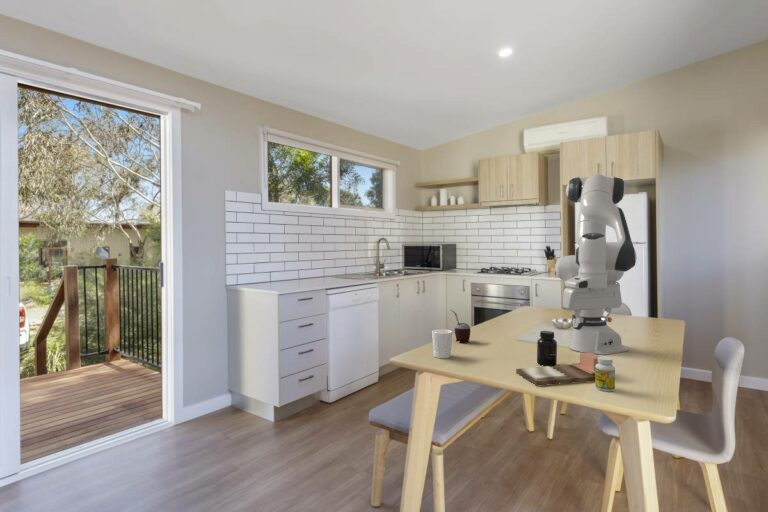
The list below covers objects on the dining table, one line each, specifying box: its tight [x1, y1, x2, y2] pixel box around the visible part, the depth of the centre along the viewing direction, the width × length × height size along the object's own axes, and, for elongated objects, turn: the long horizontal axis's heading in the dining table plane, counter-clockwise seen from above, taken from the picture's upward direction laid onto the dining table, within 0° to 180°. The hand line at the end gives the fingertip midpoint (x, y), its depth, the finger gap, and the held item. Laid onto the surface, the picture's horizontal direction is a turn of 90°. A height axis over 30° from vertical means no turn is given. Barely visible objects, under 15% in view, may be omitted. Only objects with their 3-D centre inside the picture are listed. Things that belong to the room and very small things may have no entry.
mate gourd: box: [450, 309, 471, 344], centre depth 190 cm, size 8×8×15 cm
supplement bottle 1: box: [536, 330, 558, 367], centre depth 156 cm, size 7×7×12 cm
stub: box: [571, 352, 602, 374], centre depth 144 cm, size 8×10×5 cm
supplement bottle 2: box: [594, 356, 616, 393], centre depth 130 cm, size 5×5×10 cm
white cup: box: [431, 328, 453, 359], centre depth 168 cm, size 8×8×10 cm
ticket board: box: [515, 364, 595, 387], centre depth 143 cm, size 28×13×2 cm, turn 101°
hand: (592, 321), depth 144 cm, fingers open, 8 cm apart
